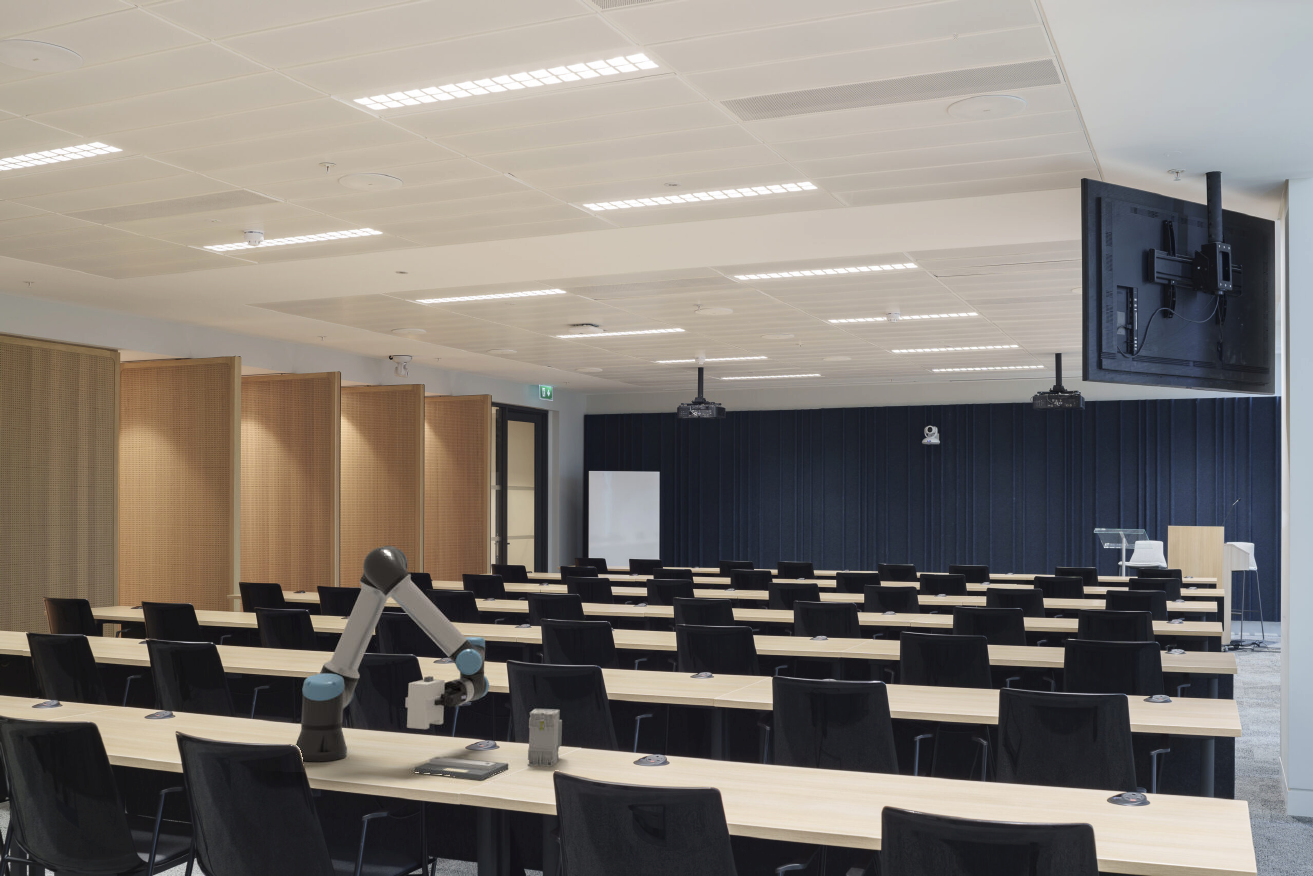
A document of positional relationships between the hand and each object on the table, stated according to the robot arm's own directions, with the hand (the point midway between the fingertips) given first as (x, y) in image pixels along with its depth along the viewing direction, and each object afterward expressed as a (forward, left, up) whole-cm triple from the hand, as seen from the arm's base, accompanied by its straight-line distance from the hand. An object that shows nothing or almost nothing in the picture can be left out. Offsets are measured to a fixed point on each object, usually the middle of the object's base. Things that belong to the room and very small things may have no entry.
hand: (417, 703), depth 312 cm
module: (0, +5, -7) cm, 9 cm away
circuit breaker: (+28, +27, -19) cm, 43 cm away
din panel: (+13, +4, -18) cm, 23 cm away
